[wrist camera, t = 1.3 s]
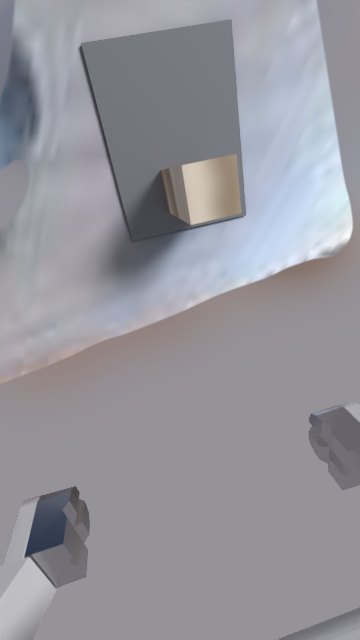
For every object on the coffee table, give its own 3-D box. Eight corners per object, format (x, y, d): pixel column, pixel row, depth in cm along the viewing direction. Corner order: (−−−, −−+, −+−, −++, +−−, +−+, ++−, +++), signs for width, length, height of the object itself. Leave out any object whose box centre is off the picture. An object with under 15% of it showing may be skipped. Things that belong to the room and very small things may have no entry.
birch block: (168, 212, 38) (191, 225, 27) (160, 170, 35) (181, 165, 25) (205, 204, 38) (241, 213, 28) (199, 161, 36) (236, 153, 25)
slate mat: (132, 240, 39) (132, 241, 38) (81, 44, 29) (80, 43, 29) (244, 214, 40) (246, 215, 40) (229, 21, 31) (231, 19, 31)
